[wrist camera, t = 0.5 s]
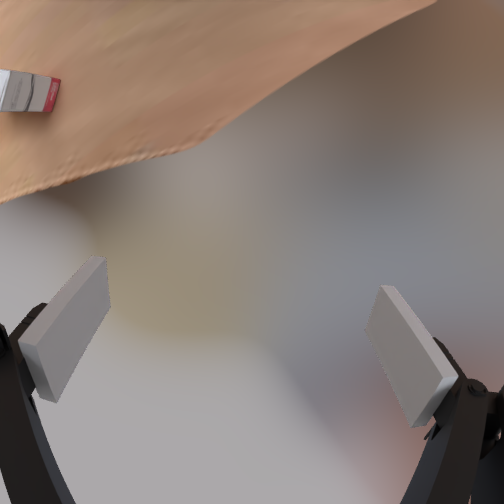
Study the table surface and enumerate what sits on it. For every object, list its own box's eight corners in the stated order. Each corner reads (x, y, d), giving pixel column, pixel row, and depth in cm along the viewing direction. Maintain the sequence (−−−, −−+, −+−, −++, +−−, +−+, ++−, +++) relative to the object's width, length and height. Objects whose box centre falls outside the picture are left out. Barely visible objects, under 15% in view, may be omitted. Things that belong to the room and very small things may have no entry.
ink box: (63, 77, 33) (10, 70, 22) (52, 112, 35) (-2, 115, 24) (20, 70, 31) (-34, 66, 20) (11, 103, 33) (-43, 107, 22)
